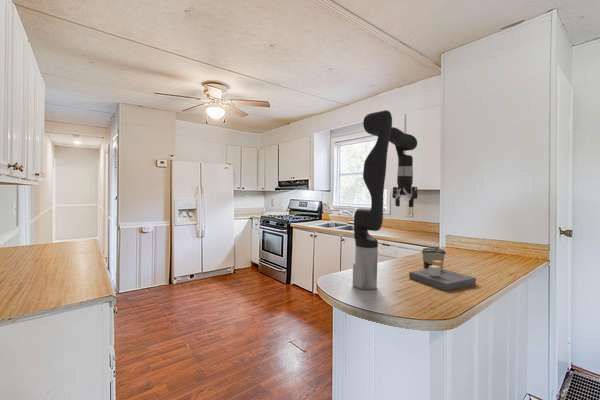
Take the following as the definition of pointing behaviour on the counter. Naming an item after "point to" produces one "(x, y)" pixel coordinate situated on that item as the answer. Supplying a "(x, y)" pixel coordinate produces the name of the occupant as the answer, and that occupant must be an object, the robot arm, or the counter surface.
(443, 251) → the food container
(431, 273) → the grey fader
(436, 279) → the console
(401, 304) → the counter surface
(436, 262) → the orange fader
